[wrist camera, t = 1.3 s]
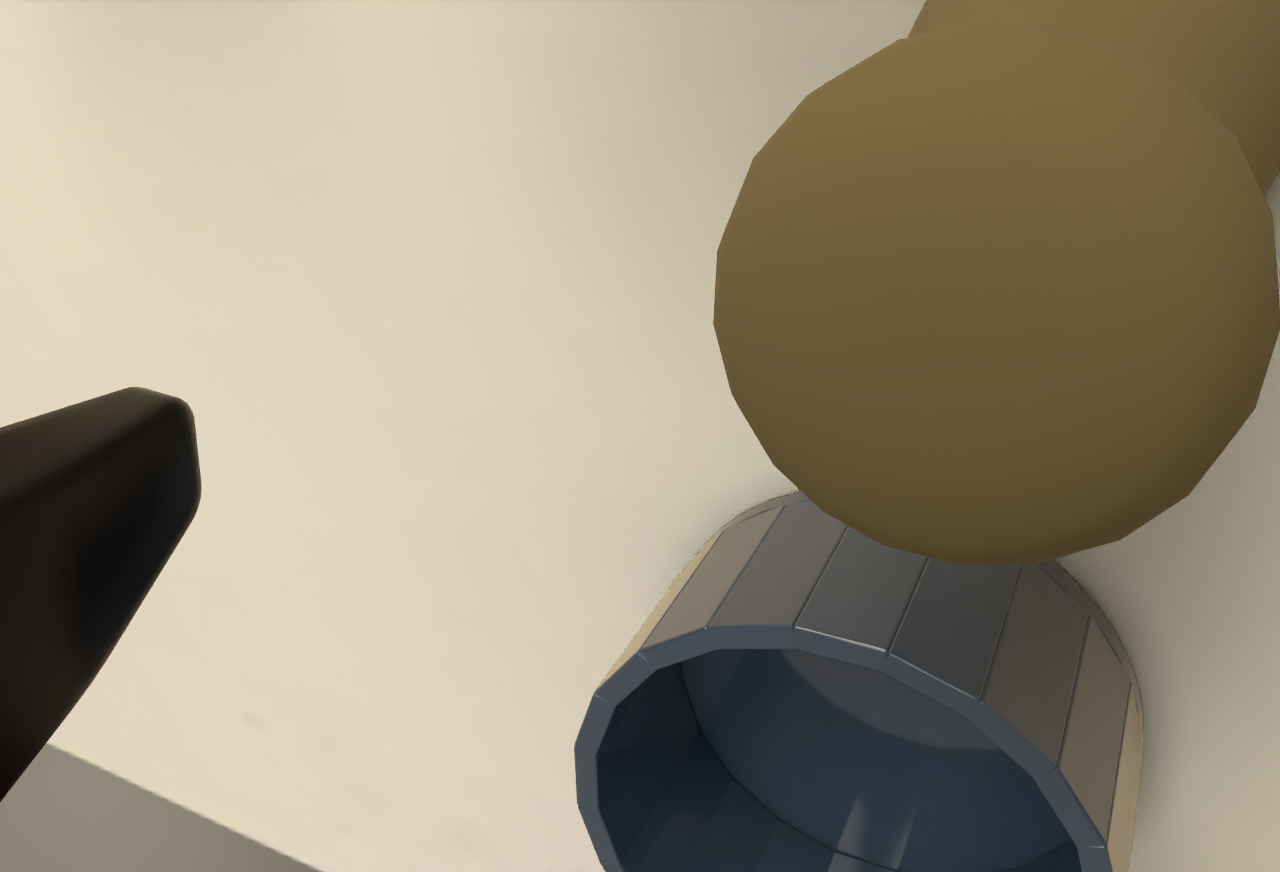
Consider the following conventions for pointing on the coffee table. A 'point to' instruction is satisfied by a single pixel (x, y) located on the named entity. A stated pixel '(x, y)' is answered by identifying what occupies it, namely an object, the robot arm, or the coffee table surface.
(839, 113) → the brown cylinder with knob
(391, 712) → the coffee table surface
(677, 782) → the blue-grey round bowl
